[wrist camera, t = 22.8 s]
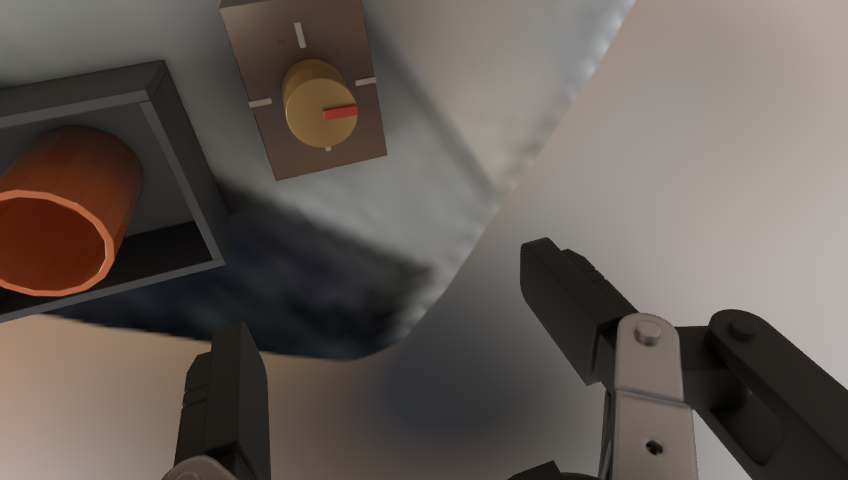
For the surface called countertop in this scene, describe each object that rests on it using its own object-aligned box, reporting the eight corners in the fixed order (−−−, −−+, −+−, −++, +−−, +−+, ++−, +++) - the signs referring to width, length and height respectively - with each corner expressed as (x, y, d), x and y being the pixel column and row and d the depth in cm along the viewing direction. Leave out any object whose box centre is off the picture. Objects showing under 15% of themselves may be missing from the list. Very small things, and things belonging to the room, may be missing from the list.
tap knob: (289, 126, 31) (295, 155, 27) (274, 64, 29) (278, 85, 25) (349, 116, 32) (363, 143, 28) (339, 54, 29) (353, 74, 26)
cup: (4, 137, 29) (-78, 209, 22) (116, 115, 30) (73, 176, 23) (62, 224, 32) (9, 309, 25) (160, 201, 34) (136, 277, 26)
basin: (-97, 106, 27) (-180, 150, 22) (164, 59, 29) (145, 88, 24) (26, 265, 34) (-14, 327, 29) (229, 216, 36) (226, 264, 31)
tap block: (219, 1, 29) (216, 8, 26) (351, -21, 30) (360, -16, 28) (273, 164, 35) (274, 182, 33) (379, 139, 36) (389, 156, 34)
